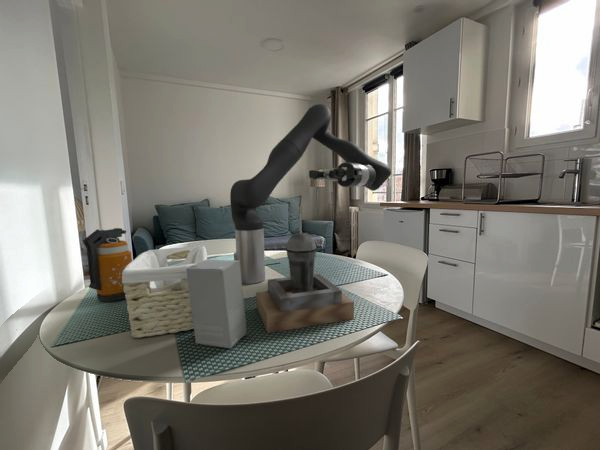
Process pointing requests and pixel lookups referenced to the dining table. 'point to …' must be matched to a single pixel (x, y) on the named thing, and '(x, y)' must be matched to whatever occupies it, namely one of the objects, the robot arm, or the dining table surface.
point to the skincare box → (217, 302)
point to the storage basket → (160, 291)
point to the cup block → (302, 305)
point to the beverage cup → (301, 260)
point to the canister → (107, 263)
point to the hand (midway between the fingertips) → (321, 173)
